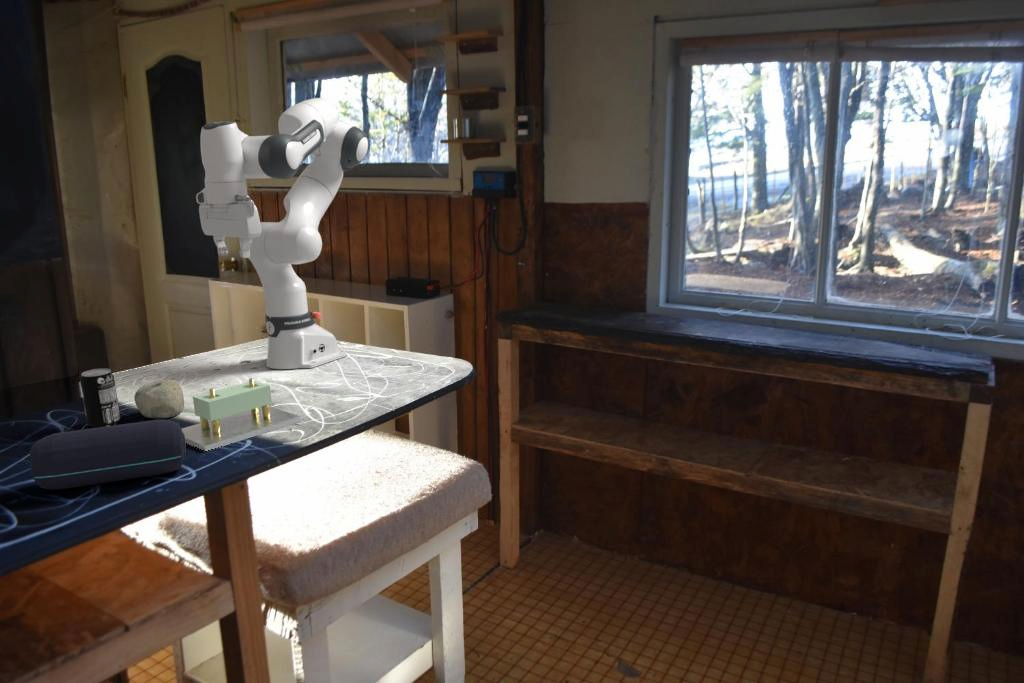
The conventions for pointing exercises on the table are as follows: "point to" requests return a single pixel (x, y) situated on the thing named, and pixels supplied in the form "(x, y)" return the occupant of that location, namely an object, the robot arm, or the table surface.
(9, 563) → the table surface
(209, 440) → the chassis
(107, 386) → the beverage can
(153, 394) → the stone
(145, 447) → the portable speaker
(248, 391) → the board
